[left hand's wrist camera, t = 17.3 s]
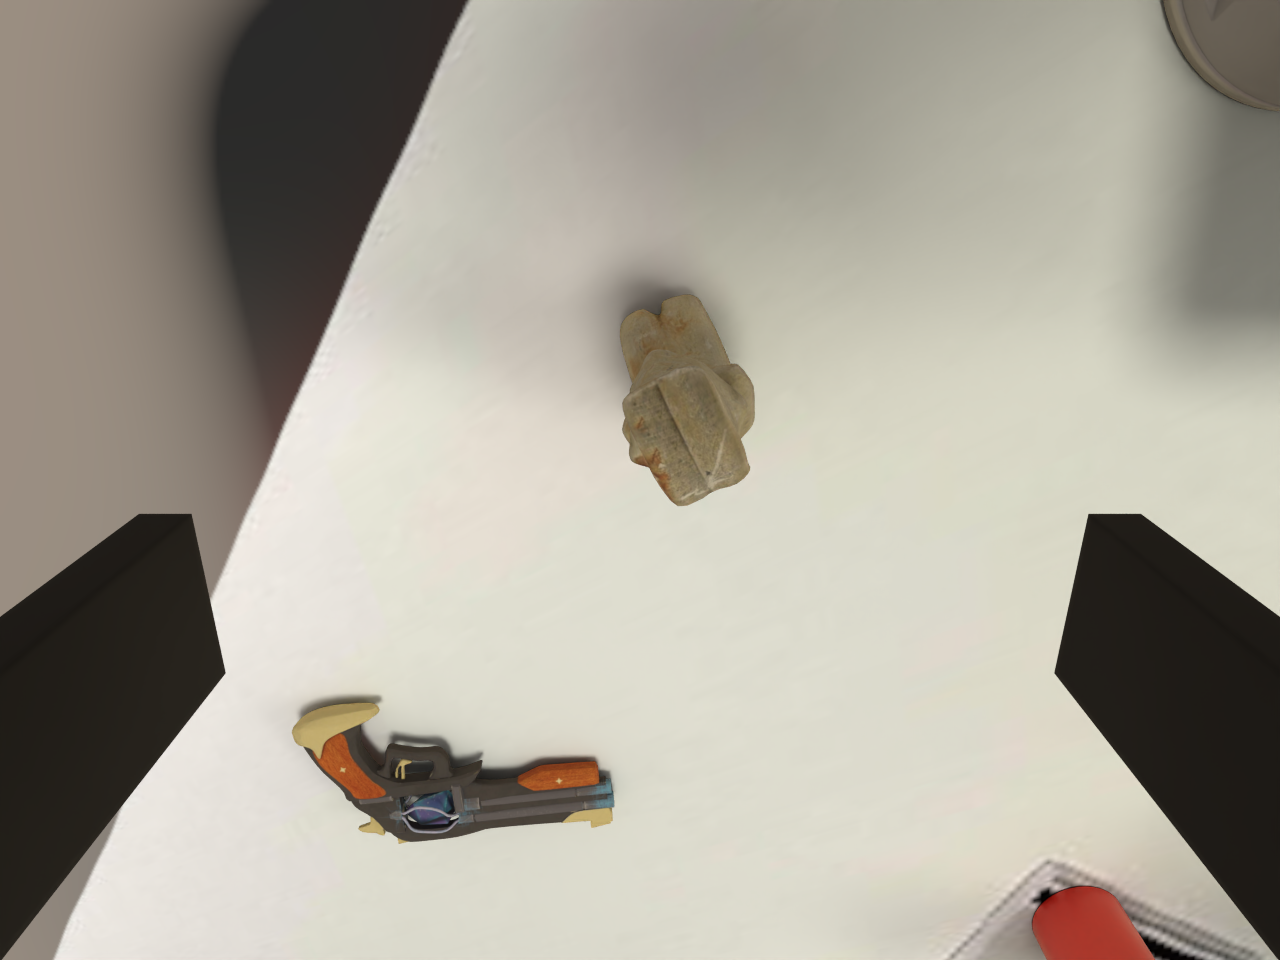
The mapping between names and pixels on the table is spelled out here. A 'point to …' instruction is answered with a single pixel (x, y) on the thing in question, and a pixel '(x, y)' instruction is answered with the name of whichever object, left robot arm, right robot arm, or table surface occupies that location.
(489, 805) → the toy gun
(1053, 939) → the canister
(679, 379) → the sculpture
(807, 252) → the table surface
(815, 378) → the table surface
